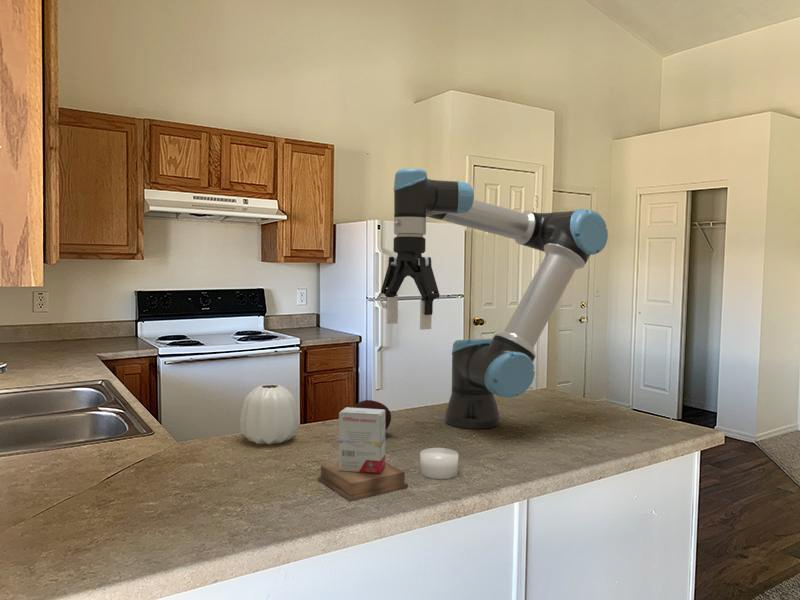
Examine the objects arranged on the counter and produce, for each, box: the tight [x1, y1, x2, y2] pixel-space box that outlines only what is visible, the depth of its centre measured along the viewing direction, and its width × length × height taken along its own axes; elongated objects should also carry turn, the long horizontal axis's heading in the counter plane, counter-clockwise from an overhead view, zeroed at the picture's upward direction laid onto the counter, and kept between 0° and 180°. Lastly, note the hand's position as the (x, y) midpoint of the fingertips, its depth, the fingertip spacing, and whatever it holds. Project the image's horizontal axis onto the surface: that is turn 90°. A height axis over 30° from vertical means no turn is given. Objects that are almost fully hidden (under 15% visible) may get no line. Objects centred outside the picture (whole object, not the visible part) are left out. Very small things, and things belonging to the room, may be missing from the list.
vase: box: [239, 383, 300, 445], centre depth 150 cm, size 14×14×13 cm
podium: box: [317, 461, 409, 502], centre depth 122 cm, size 13×13×3 cm
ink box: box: [338, 406, 386, 474], centre depth 121 cm, size 9×5×12 cm, turn 79°
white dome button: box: [419, 447, 459, 480], centre depth 129 cm, size 8×8×4 cm
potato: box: [351, 399, 392, 432], centre depth 154 cm, size 9×12×9 cm
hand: (408, 326), depth 146 cm, fingers open, 13 cm apart
